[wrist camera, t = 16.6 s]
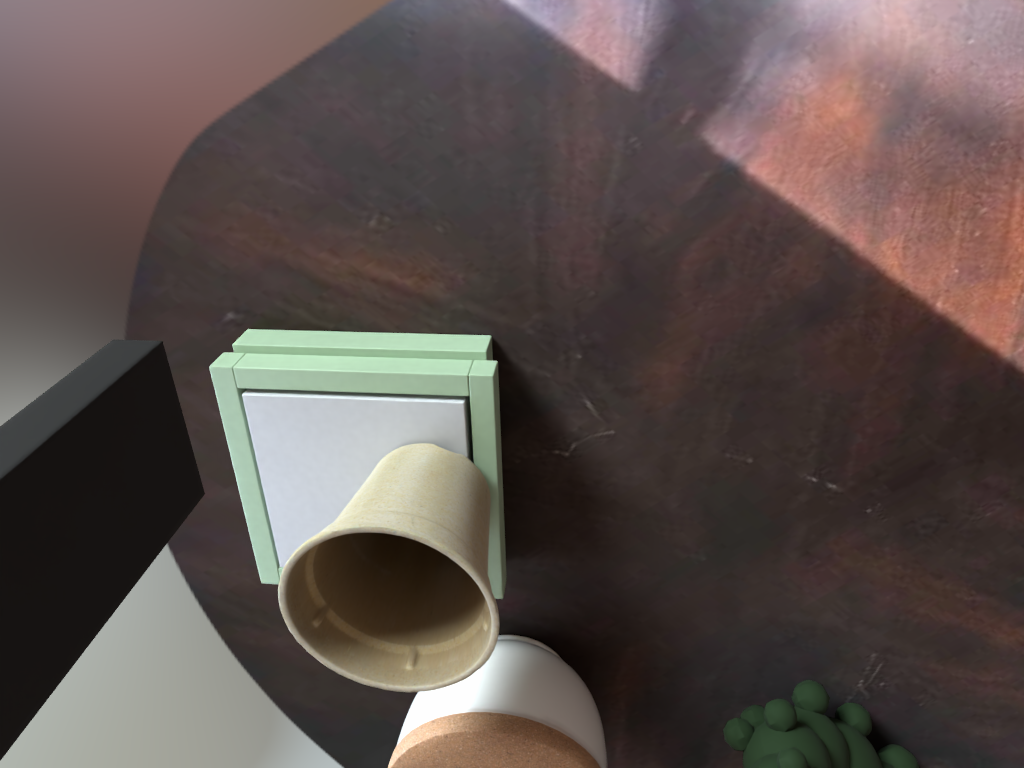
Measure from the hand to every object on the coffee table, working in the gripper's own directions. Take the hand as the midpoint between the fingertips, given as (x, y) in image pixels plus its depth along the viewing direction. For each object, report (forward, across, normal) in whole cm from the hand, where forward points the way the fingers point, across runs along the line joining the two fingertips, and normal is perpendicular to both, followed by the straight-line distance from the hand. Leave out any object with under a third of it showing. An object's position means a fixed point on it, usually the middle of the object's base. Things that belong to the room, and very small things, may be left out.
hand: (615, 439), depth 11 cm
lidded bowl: (+26, -6, -35) cm, 44 cm away
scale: (+26, -13, -18) cm, 34 cm away
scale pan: (+23, -13, -18) cm, 32 cm away
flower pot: (+22, -9, -18) cm, 30 cm away
